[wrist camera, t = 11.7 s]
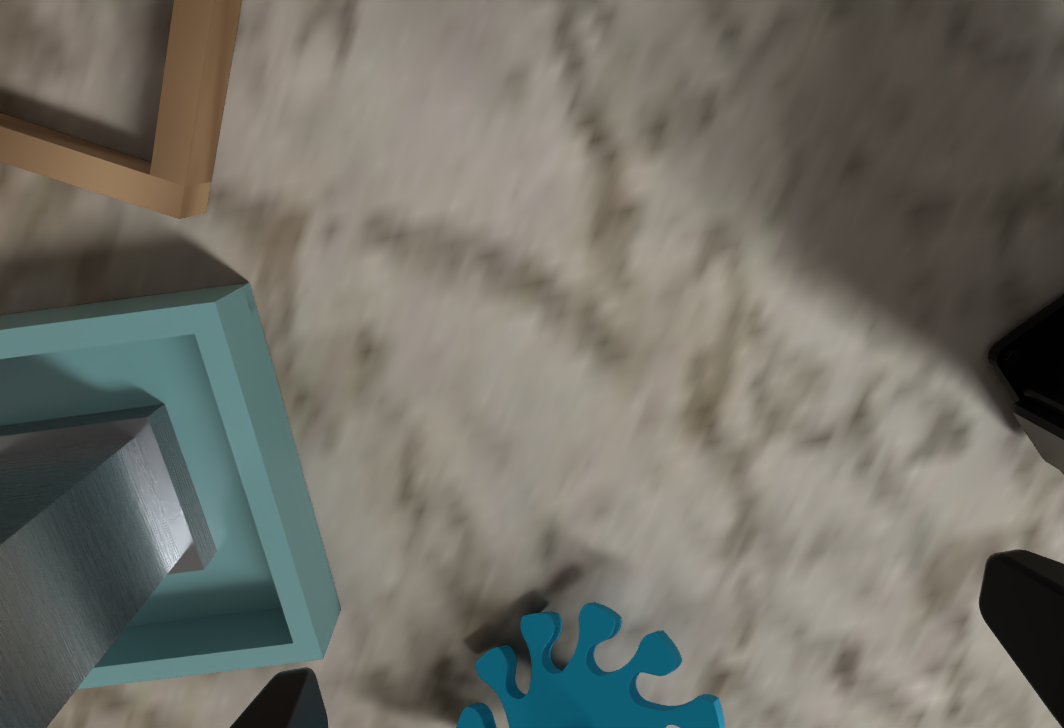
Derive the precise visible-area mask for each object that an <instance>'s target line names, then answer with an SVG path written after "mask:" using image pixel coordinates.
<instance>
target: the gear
mask: <svg viewBox="0 0 1064 728" xmlns="http://www.w3.org/2000/svg"><path fill="white" fill-rule="evenodd" d="M621 623H622V620H621V617H620V616H619V615H618V614H617V613H616V612H615V611H613V610H612V609H610V608H608V607H606V606H604V605H601V604H598V603H596V602H594V603H588V604H586V605H585V606H584V607H583V608H582V610H581V612H580V614H579V640H578V645H577V648H576V650H575V653H574V655H573V657H572V658H571V660H570V662H569V663H568V665H567V666H566V667H565V669H564V670H563V671H562V670H559V669H558V668H556V667H555V666H554V664H553V663H552V660H551V656H550V653H551V648H552V646H553V644H554V643H555V641H556V640H557V639H558V637H559V635H560V633H561V630H562V621H561V617H560V615H559V614H558V613H555V612H541V613H535V614H530V615H525V616H522V619H521V625H520V626H521V632H522V635H523V637H524V639H525V641H526V643H527V646H528V648H529V651H530V656H531V664H532V671H531V682H530V688H529V691H528V693H527V695H526V694H523V693H522V692H521V691H520V690H519V689H518V687H517V685H516V682H515V674H516V667H517V659H516V655H515V652H514V651H513V649H512V648H511V647H510V646H509V645H504V646H500V647H496V648H493V649H491V650H489V651H488V652H486V653H485V654H484V655H483V656H482V657H481V658H480V659H479V660H478V661H477V662H476V670H477V673H478V675H479V677H480V678H481V679H482V680H483V681H484V682H485V683H487V684H488V685H489V686H490V687H491V688H492V689H493V690H494V691H495V692H496V694H497V695H498V696H499V698H500V700H501V702H502V704H503V707H504V709H505V712H506V716H507V719H508V723H509V728H666V726H667V725H676V726H678V727H680V728H725V725H724V717H723V712H722V708H721V704H720V701H719V698H718V697H716V696H714V695H710V694H703V695H700V696H698V697H697V698H695V699H694V700H692V701H690V702H688V703H686V704H683V705H678V706H665V705H660V704H656V703H652V702H649V701H646V700H645V699H643V698H642V697H641V696H640V694H639V693H638V691H637V688H636V679H637V676H638V675H639V673H640V672H643V673H648V674H652V675H657V676H663V675H667V674H669V673H670V672H672V671H674V670H675V669H677V668H678V667H679V666H680V664H681V662H682V658H681V655H680V653H679V651H678V649H677V647H676V646H675V644H674V643H673V642H672V640H671V639H670V638H669V637H668V635H667V634H666V633H665V632H664V631H663V630H661V631H656V632H654V633H651V634H648V635H647V636H645V637H644V638H643V640H642V641H641V643H640V645H639V648H638V650H637V652H636V654H635V655H634V657H633V658H632V659H631V660H630V662H629V663H628V664H626V665H625V666H624V667H623V668H621V669H619V670H616V671H614V672H604V671H602V670H601V669H600V668H599V667H598V666H597V664H596V662H595V659H594V651H595V648H596V646H597V645H598V644H599V643H601V642H602V641H605V640H607V639H610V638H612V637H614V636H615V635H616V634H617V633H618V632H619V630H620V627H621ZM456 728H496V724H495V721H494V717H493V714H492V712H491V710H490V709H489V708H488V706H486V705H485V704H483V703H475V704H472V705H469V706H467V707H466V708H465V709H464V710H463V712H462V714H461V716H460V718H459V720H458V723H457V726H456Z"/></svg>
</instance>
